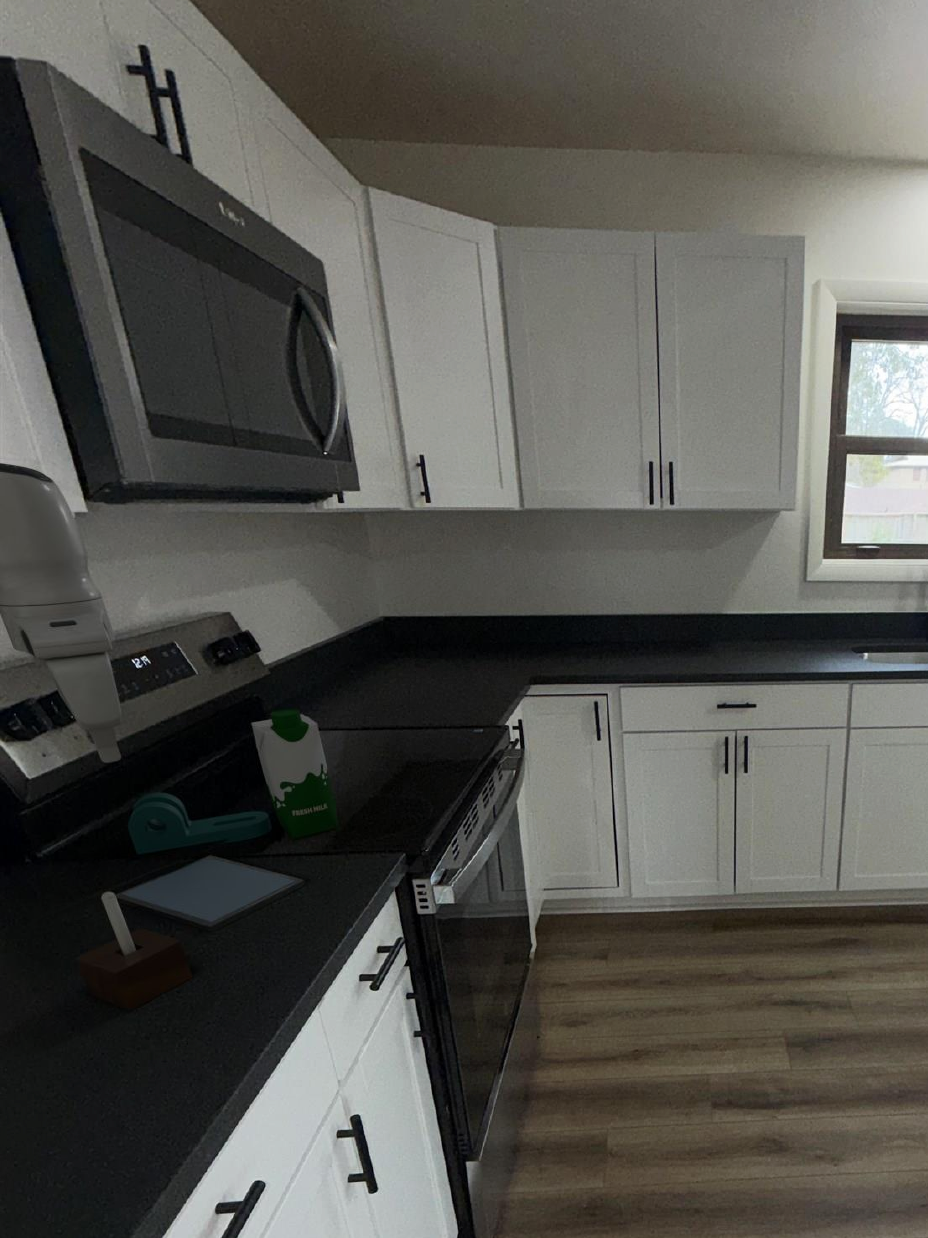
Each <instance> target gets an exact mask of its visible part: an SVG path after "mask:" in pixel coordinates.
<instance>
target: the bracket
mask: <svg viewBox="0 0 928 1238" xmlns="http://www.w3.org/2000/svg"><path fill="white" fill-rule="evenodd" d="M127 828H128V832H129V835H130V838H131V841H132V844H133V846H134V849H135V852H136V855H137V856H138V855H143V854H144V855H145V854H149V853H155V852H161V851H167V850H173V849H178V848H184V847H189V846H195V845H202V844H206V843H213V842H217V843H215V844H213V845H211V846H212V847H213V846H214V847H215V846H218V845H219V846H220V845H224V844H230V843H235V842H241V841H242V842H243V841H246V840H251V839H252V840H253V839H256V838H259V837H262V836H265V835H267V834H268V833H269V832H271V831H272V829H273V828H272V823H271V820H270V817H269V813H267V812H265V811H261V810H260V811H257V810H255V811H254V810H253V811H243V812H239V813H232V814H227V815H220V816H215V817H208V818H201V819H196V820H190V819H189V816H188V813H187V809H186V806H185V805H184V803H183V802H182V800H180V799H179V798H177V796H174V795H172V794H170V793H167V792H161V791H158V792H151V793H148V794H144V795H143V796H142V797H140V798H139V799H138V800H137V801H136V802H135V804H134V807H133V810H132V813H131V815H130V817H129V819H128V823H127ZM218 841H220V842H218Z"/></svg>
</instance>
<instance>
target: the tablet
mask: <svg viewBox="0 0 928 1238" xmlns="http://www.w3.org/2000/svg"><path fill="white" fill-rule="evenodd" d="M305 886H306V882H305V879H302V878H298V877H295V876H290V875H287V874H283V873H279V872H275V871H271V870H268V869H264V868H261V867H257V866H254V865H253V866H252V865H250V864H246V863H242V862H238V861H234V860H230V859H227V858H222V857H219V856H216V855H211V854H209V855H207V856H205V857H203V858H200V859H198V860H196V861H193V862H190V863H188V864H186V865H184V866H181V867H179V868H176V869H173V870H171V871H168V872H167V873H164V874H161V875H159V876H157V877H154V878H152V879H150V880H147V881H145V882H142V883H140V884H138V885H135V886H133V887H131V888H128V889H126V890H123V891H120V892H119V893H115V896H116V899H117V901H118V904H121V905H125V906H127V907H132V908H135V909H137V910H141V911H144V912H148V913H150V914H153V915H156V916H160V917H163V918H166V919H168V920H172V921H176V922H178V923H181V924H183V925H188V926H191V927H194V928H196V929H200V930H204V931H207V932H209V933H214V932H216V931H217V930H220V929H222V928H224V927H225V926H227V925H230V924H232V923H234V922H235V921H237V920H240V919H242V918H243V917H246V916H248V915H249V914H251V913H253V912H255V911H258V910H260V909H261V908H264V907H265V906H268V905H269V904H271V903H273V902H276V901H277V900H279V899H281V898H283V897H285V896H287V895H289V894H291V893H293V892H295V891H297V890H299V889H301V888H303V887H305Z"/></svg>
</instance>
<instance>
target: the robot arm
mask: <svg viewBox="0 0 928 1238" xmlns="http://www.w3.org/2000/svg"><path fill="white" fill-rule="evenodd" d="M79 529H80V528H79V527H78V525H77V522H76V519H75V517H74V514H73V512H72V510H71V508H70V506H69V504H68V501H67V500H66V498H65V496H64V494H63V492H62V491H61V489H60V488H59V485H57V483H56V482H55V481H54V479H52V478H51V477H49V476H47V475H46V474H45V473H43V472H41V471H39V470H37V469H34V468H30V467H28V466H27V467H26V466H21V465H17V464H10V463H5V462H4V463H3V462H0V617H1V620H2V622H3V624H4V627H5V630H6V632H7V634H8V638H9V641H10V642H11V643H10V644H11V646H12V648H13V649H14V650H15V651H18V652H24V653H27V654H29V655H31V656H32V659H33V662H34V663H35V664H36V665H38V666H43V667H45V668H46V669H47V670H48V672H49V674H50V675H51V677H52V679H53V682H54V685H55V687H56V690H57V692H58V694H59V696H60V698H61V699H62V701H63V702H64V703H65V705H66V707H67V708H68V710H69V712H70V713H71V715H72V716H73V718H74V719H75V721H76V723H77V725H78V726H79V727H80V729H81V730H83V731H84V733H85V735H86V738H87V740H88V741H89V743H91V744H93V745H94V746H95V748H96V751H97V754H98V756H99V758H100V760H101V761H102V762H103V763H106V764H107V763H108V764H109V763H112V762H119V761H120V760H121V759H122V755H121V752H120V749H119V746H118V741H117V735H116V731H115V728H114V727H119V726H121V725H122V723H123V714H122V713H123V712H122V708H121V707H122V706H121V701H120V698H119V693H118V689H117V684H116V680H115V676H114V671H113V667H112V663H111V659H110V656H109V654H108V653H109V652H113V650H114V648H113V642H115V641H116V638H117V637H116V635H115V632H114V629H113V625H112V623H111V619H110V617H109V615H108V612H107V608H106V606H105V602H104V599H103V597H102V594H101V591H100V590H99V588H98V586H96V584H95V582H94V580H93V578H92V577H91V575H90V571H89V555H88V552H87V547H86V546H85V543H84V540H83V537H82V535H81V531H80V530H79Z"/></svg>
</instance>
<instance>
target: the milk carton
mask: <svg viewBox="0 0 928 1238" xmlns="http://www.w3.org/2000/svg"><path fill="white" fill-rule="evenodd" d="M251 728H252V732H253V736H254V741H255V748H256V749H257V752H258V758H259V762H260V765H261V769H262V772H263V777H264V781H265V783H266V787H267V791H268V794H269V797H270V801H271V804H272V807H273V810H274V812H275V815H276V818H277V819H278V822H279V824H280V827H281V828H282V829H283V830H284V831H285V832H286V833H287V834H288V835H289V836H290V837H291V838H292V839H293V840H296V839H300V838H304V837H308V836H312V835H315V834H316V835H317V834H319V833H323V832H327V831H331V830H335V829H339V827H340V826H339V821H338V813H337V805H336V800H335V795H334V790H333V787H332V781H331V777H330V774H329V770H328V765H327V761H326V756H325V751H324V747H323V743H322V740H321V739H322V738H321V736H320V731H319V726H318V723H317V722H316V721H314V720H313V719H312V718H310V717H309V716H305V715H304V714H302V713H301V712H300V710H299V709H297V708H295V709H294V708H288V709H287V708H286V709H279V710H275V711H272V712H271V713H270V719H266V720H260V721H254V722H251Z"/></svg>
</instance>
